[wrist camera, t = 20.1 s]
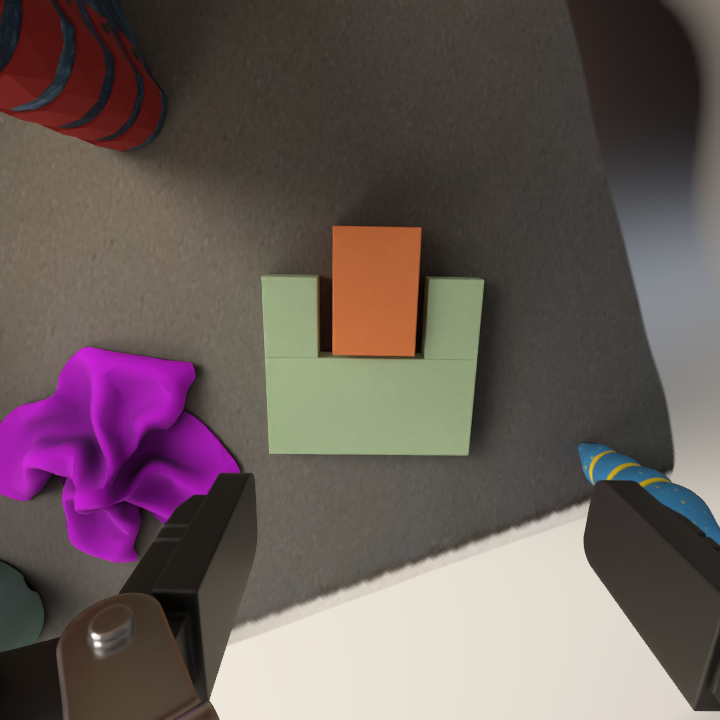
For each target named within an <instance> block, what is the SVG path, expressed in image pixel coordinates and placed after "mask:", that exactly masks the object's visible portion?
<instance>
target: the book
mask: <svg viewBox="0 0 720 720" xmlns="http://www.w3.org/2000/svg"><path fill="white" fill-rule="evenodd" d="M166 107H167V96H166V94H165V93H164V92H163V90H162V89H161V87H160V86H159V85H158V83H157V82H156V80H155V79H154V77H153V75H152V73H151V71H150V69H149V66H148V64H147V62H146V60H145V58H144V55H143V53H142V51H141V49H140V47H139V44H138V42H137V40H136V38H135V36H134V33H133V31H132V29H131V27H130V25H129V22H128V20H127V18H126V16H125V14H124V11H123V9H122V7H121V5H120V2H119V0H0V111H1V112H3V113H6V114H8V115H11V116H13V117H16V118H18V119H21V120H24V121H29V122H34V123H37V124H40V125H42V126H45V127H47V128H49V129H52V130H54V131H56V132H59V133H61V134H64V135H68V136H73V137H77V138H79V139H81V140H84V141H86V142H88V143H91V144H93V145H95V146H99V147H104V148H109V149H114V150H119V151H128V150H137V149H140V148H142V147H144V146H146V145H148V144H149V143H150V142H151V141H152V140H154V139H155V138H156V137H157V135H158V133H159V131H160V130H161V128H162V126H163V123H164V119H165V115H166Z"/></svg>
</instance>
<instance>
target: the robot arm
mask: <svg viewBox="0 0 720 720" xmlns="http://www.w3.org/2000/svg"><path fill="white" fill-rule="evenodd" d="M256 545H257V514H256V492H255V478H254V475H253V473H220V474H219V475H218V476H217V478H216V480H215V481H214V483H213V485H212V486H211V488H210V490H209V492H208V493H207V495H202V494H194V495H193V496H191V497H190V498H189V499H187V500H186V501H185V502H183V503H182V504H181V505H179V506H178V507H176V508H175V510H174V511H173V513H172V514H171V516H170V517H169V519H168V520H167V522H166V523H165V527H164V528H162V529H161V531H160V532H159V534H158V535H157V537H156V540H155V542H153V543H152V544H151V546H150V547H149V549H148V550H147V552H146V553H145V555H144V556H143V558H142V559H141V561H140V562H139V564H138V565H137V567H136V568H135V570H134V571H133V573H132V574H131V576H130V577H129V579H128V580H127V582H126V583H125V585H124V586H123V588H122V589H121V591H120V592H119V594H118V595H115V596H112V597H109V598H106V599H104V600H102V601H99V602H97V603H95V604H94V605H92V606H90V607H89V608H87V609H86V610H84V611H83V612H82V613H80V614H79V615H78V616H77V617H76V618H74V619H73V620H72V621H71V623H70V624H69V625H68V626H67V627H66V629H65V630H64V631H63V633H62V635H61V637H58V638H55V639H51V640H48V641H44V642H40V643H36V644H32V645H28V646H24V647H20V648H16V649H12V650H8V651H4V652H0V720H219V717H218V715H217V713H216V711H215V709H214V707H213V705H212V704H211V702H210V701H209V699H210V696H211V692H212V689H213V686H214V683H215V680H216V677H217V674H218V671H219V668H220V664H221V661H222V658H223V655H224V652H225V649H226V646H227V642H228V639H229V636H230V633H231V630H232V627H233V624H234V620H235V617H236V614H237V611H238V608H239V605H240V602H241V598H242V595H243V592H244V589H245V586H246V583H247V580H248V577H249V573H250V570H251V567H252V564H253V561H254V557H255V552H256ZM584 549H585V554H586V557H587V560H588V562H589V564H590V566H591V567H592V568H593V570H594V571H595V573H596V574H597V576H598V577H599V578H600V580H601V581H602V583H603V584H604V585H605V587H606V588H607V590H608V591H609V592H610V594H611V595H612V597H613V598H614V599H615V601H616V602H617V603H618V605H619V606H620V608H621V609H622V611H623V612H624V613H625V615H626V616H627V618H628V619H629V620H630V622H631V623H632V624H633V626H634V627H635V629H636V630H637V632H638V633H639V634H640V636H641V637H642V639H643V640H644V641H645V643H646V644H647V645H648V647H649V648H650V650H651V651H652V653H653V654H654V655H655V656H656V658H657V659H658V661H659V662H660V664H661V665H662V666H663V668H664V669H665V671H666V672H667V673H668V675H669V676H670V678H671V679H672V680H673V682H674V683H675V685H676V686H677V687H678V689H679V690H680V692H681V693H682V694H683V696H684V697H685V699H686V700H687V701H688V703H689V704H690V706H691V707H692V708H693V710H694V711H720V545H719V544H718V543H717V542H715V541H714V540H713V539H712V538H711V537H707V536H706V533H705V532H704V531H702V530H701V529H700V528H699V527H698V526H697V525H695V524H694V523H693V522H692V521H691V520H689V519H688V518H687V517H686V516H684V515H682V514H680V513H678V512H677V511H675V510H673V509H671V508H669V507H667V506H666V505H664V504H662V503H660V502H659V501H658V500H657V499H656V498H655V497H654V496H652V495H651V494H650V493H649V492H648V491H647V490H646V489H644V488H643V487H642V486H641V485H640V484H639V483H637V482H635V481H632V480H599V481H597V482H596V483H595V485H594V487H593V491H592V496H591V501H590V506H589V512H588V517H587V522H586V528H585V533H584Z"/></svg>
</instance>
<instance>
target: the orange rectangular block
mask: <svg viewBox="0 0 720 720" xmlns="http://www.w3.org/2000/svg"><path fill="white" fill-rule="evenodd" d="M421 234H422V228H421V227H378V226H333V355H370V356H415V344H416V326H417V307H418V289H419V271H420V252H421Z"/></svg>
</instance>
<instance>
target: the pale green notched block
mask: <svg viewBox="0 0 720 720" xmlns="http://www.w3.org/2000/svg"><path fill="white" fill-rule="evenodd" d="M261 278H262V300H263V322H264V345H265V368H266V390H267V412H268V434H269V453H270V454H367V455H469V444H470V433H471V422H472V411H473V400H474V389H475V378H476V367H477V356H478V345H479V334H480V323H481V312H482V302H483V291H484V279H481V278H478V277H430V276H426V277H425V287H424V305H423V323H422V341H421V353H415V356H370V355H333V352H320V276H319V275H297V274H266V275H264V276H262V277H261Z"/></svg>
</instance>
